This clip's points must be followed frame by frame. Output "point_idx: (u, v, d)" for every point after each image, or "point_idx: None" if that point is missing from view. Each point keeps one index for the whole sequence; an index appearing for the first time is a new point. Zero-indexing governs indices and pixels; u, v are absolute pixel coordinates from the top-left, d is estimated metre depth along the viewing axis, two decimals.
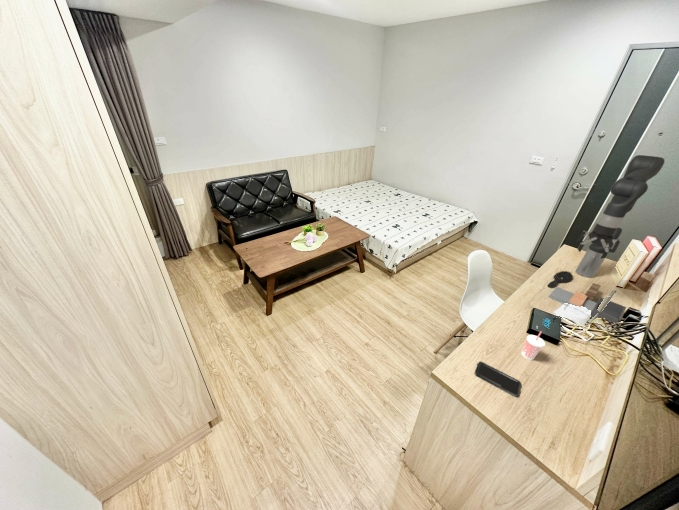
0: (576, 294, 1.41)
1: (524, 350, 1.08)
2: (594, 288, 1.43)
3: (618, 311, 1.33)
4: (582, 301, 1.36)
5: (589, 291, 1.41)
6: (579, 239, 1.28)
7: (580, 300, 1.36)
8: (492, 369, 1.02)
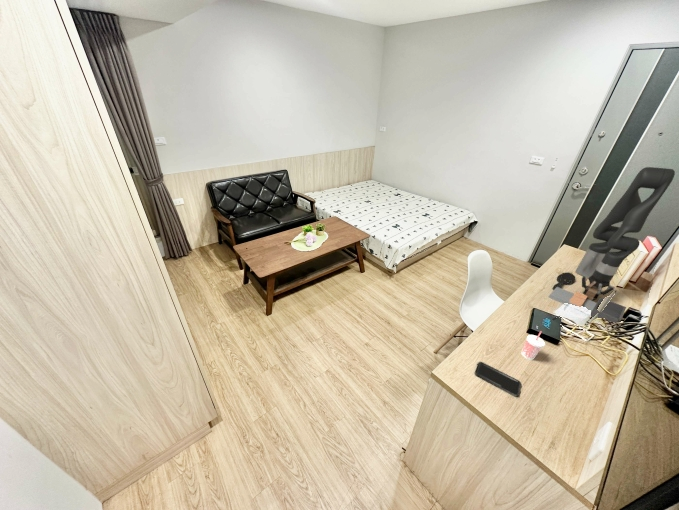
0: (576, 294, 1.41)
1: (524, 350, 1.08)
2: (594, 288, 1.43)
3: (618, 311, 1.33)
4: (582, 301, 1.36)
5: (589, 291, 1.40)
6: (583, 284, 1.45)
7: (580, 300, 1.36)
8: (492, 369, 1.02)
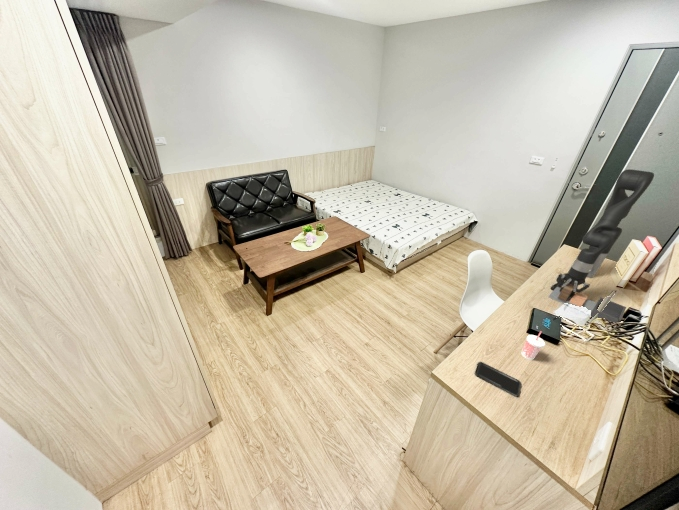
0: (576, 294, 1.41)
1: (524, 350, 1.08)
2: (570, 285, 1.41)
3: (618, 311, 1.33)
4: (582, 301, 1.36)
5: (565, 288, 1.38)
6: (559, 282, 1.42)
7: (580, 300, 1.36)
8: (492, 369, 1.02)
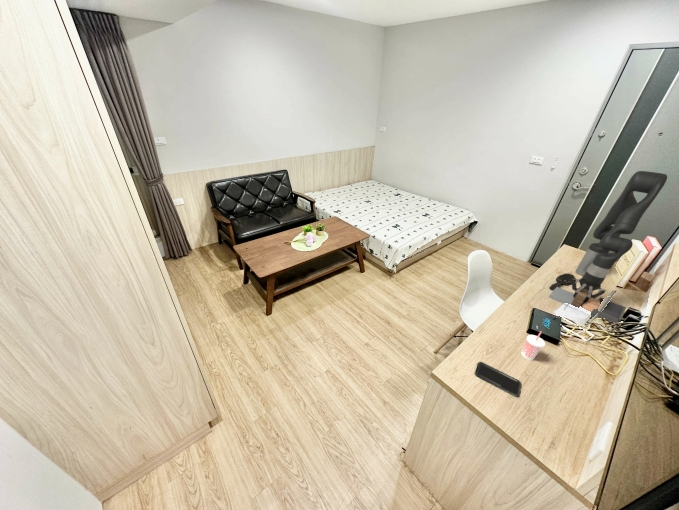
0: (589, 299, 1.37)
1: (524, 350, 1.08)
2: (584, 291, 1.36)
3: (618, 311, 1.33)
4: (595, 307, 1.31)
5: (579, 295, 1.34)
6: (573, 287, 1.38)
7: (593, 306, 1.32)
8: (492, 369, 1.02)
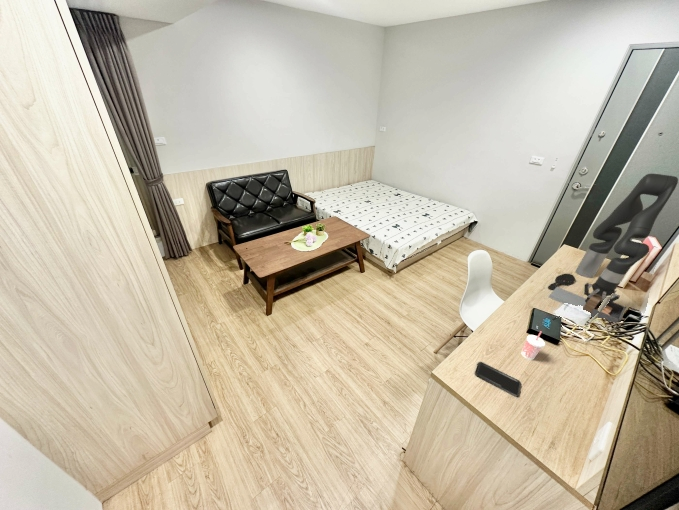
0: None
1: (524, 350, 1.08)
2: (597, 296, 1.33)
3: (618, 311, 1.33)
4: None
5: (591, 299, 1.31)
6: (586, 292, 1.35)
7: None
8: (492, 369, 1.02)
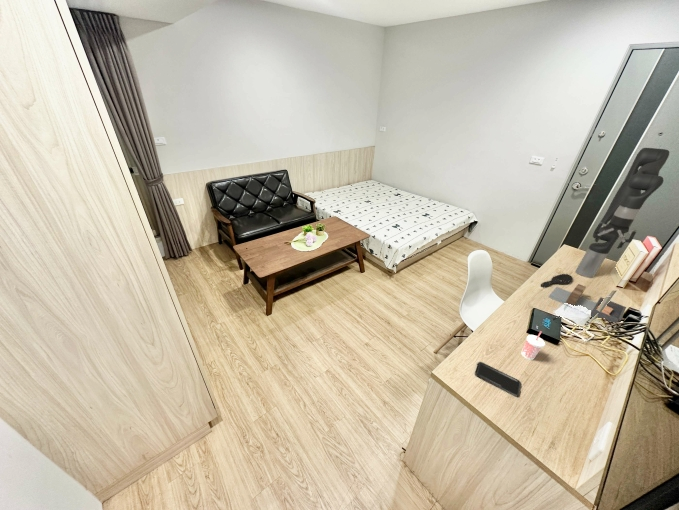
0: None
1: (524, 350, 1.08)
2: (578, 289, 1.38)
3: (618, 311, 1.33)
4: None
5: (573, 292, 1.35)
6: (596, 230, 1.36)
7: None
8: (492, 369, 1.02)
